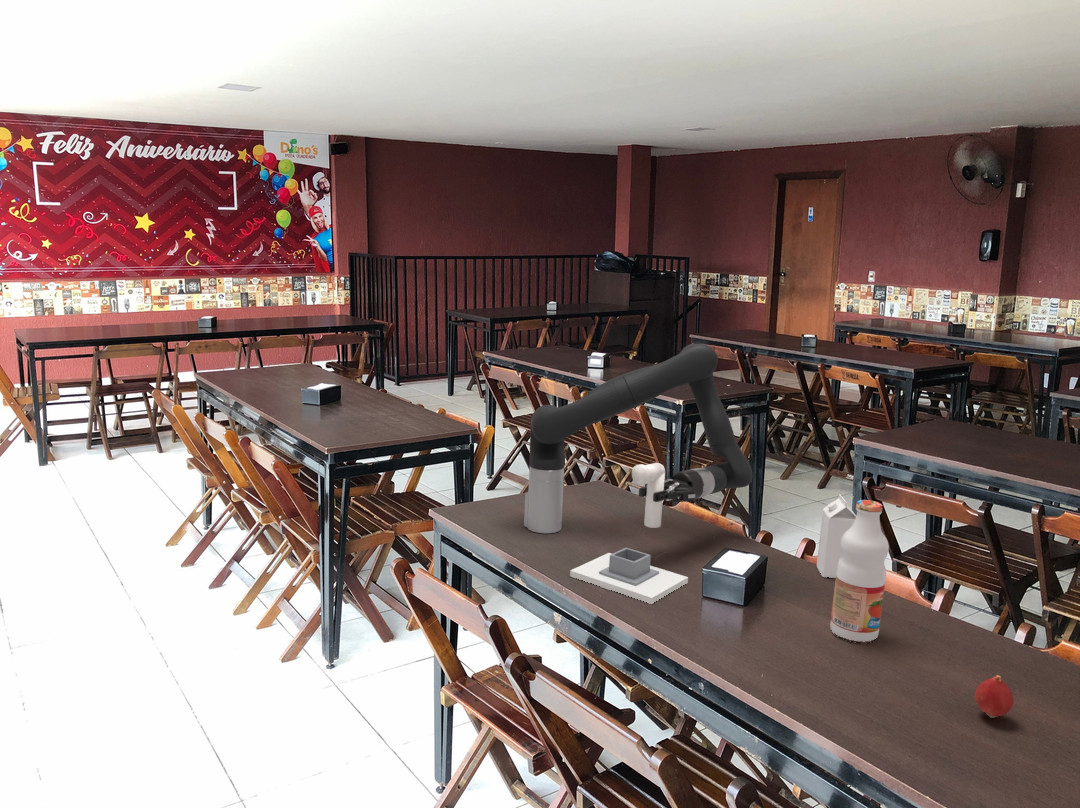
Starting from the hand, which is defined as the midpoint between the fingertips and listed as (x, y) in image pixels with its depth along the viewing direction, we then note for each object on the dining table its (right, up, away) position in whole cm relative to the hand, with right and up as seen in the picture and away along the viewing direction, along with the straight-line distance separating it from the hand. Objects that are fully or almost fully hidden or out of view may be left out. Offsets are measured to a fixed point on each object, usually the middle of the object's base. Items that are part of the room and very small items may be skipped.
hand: (647, 495), depth 208 cm
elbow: (0, -8, +2) cm, 8 cm away
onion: (+52, -32, -58) cm, 84 cm away
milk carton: (+46, -20, +4) cm, 50 cm away
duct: (-5, -19, -6) cm, 21 cm away
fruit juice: (+39, -26, -29) cm, 55 cm away
